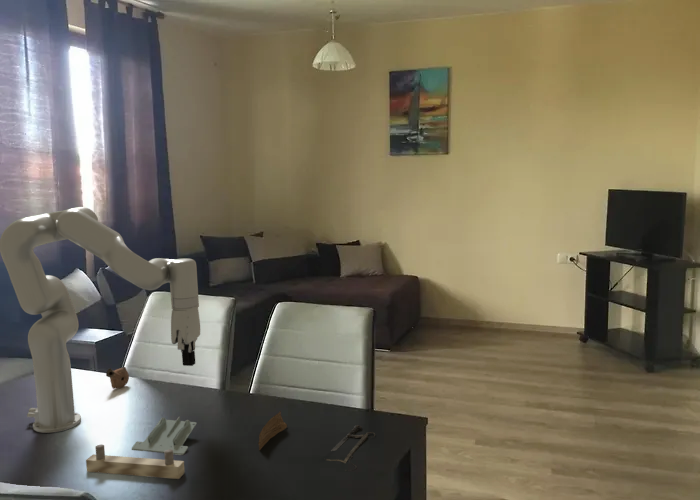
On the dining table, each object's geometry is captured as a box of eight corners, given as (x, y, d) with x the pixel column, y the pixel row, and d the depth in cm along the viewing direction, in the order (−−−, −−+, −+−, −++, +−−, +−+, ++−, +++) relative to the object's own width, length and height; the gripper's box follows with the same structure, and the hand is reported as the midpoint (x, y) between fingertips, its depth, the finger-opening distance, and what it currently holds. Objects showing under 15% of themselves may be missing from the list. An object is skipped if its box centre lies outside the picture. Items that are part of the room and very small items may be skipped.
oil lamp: (111, 394, 207) (109, 370, 205) (102, 392, 208) (100, 368, 207) (132, 385, 214) (130, 362, 213) (123, 383, 216) (121, 360, 215)
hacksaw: (355, 428, 179) (355, 423, 178) (389, 430, 174) (389, 425, 174) (315, 469, 157) (314, 463, 157) (353, 473, 153) (352, 468, 152)
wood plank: (264, 451, 164) (263, 433, 164) (256, 450, 165) (256, 432, 164) (287, 427, 179) (286, 410, 178) (280, 426, 180) (279, 409, 179)
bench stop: (86, 471, 155) (85, 448, 154) (93, 465, 158) (92, 442, 157) (179, 478, 151) (177, 455, 150) (184, 472, 154) (183, 449, 153)
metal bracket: (154, 411, 178) (203, 415, 174) (158, 428, 180) (207, 432, 176) (127, 447, 165) (179, 452, 161) (132, 464, 167) (184, 469, 164)
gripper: (184, 296, 189) (188, 356, 191) (160, 308, 174) (164, 373, 177) (208, 296, 187) (211, 357, 190) (186, 308, 173) (190, 374, 175)
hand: (189, 364), depth 183 cm, fingers closed
